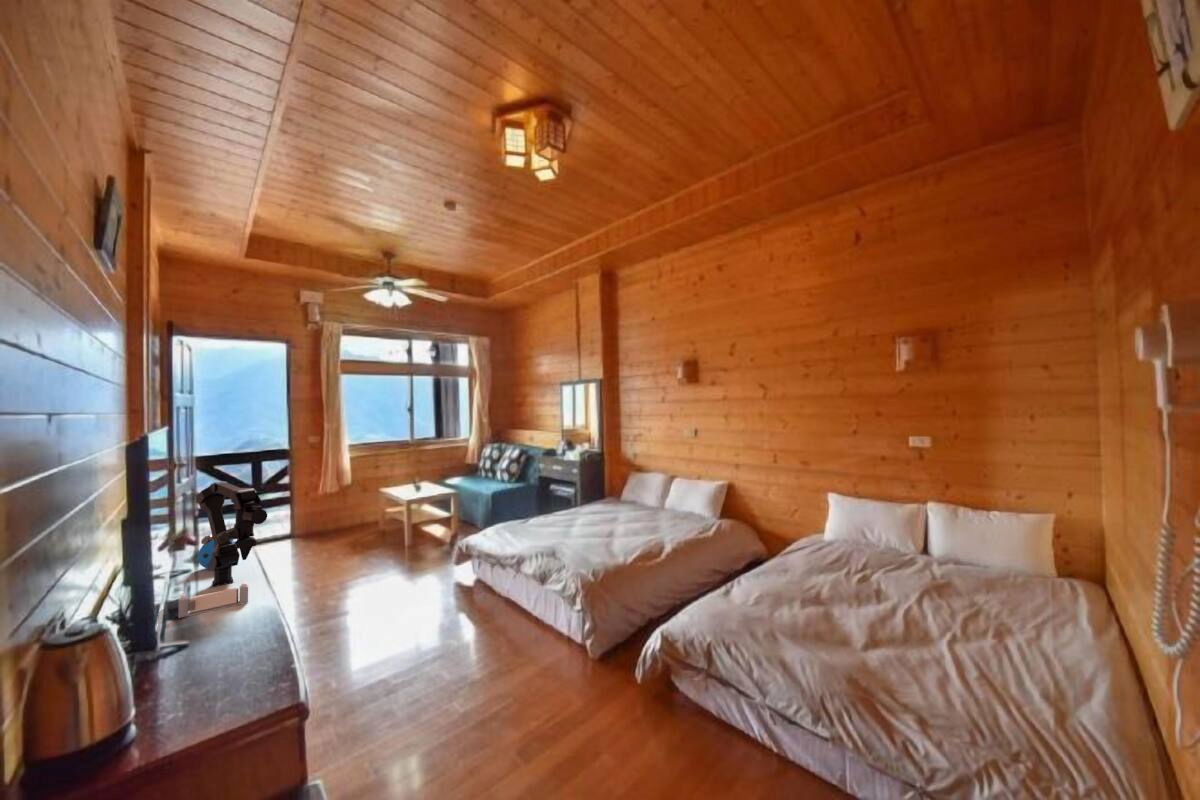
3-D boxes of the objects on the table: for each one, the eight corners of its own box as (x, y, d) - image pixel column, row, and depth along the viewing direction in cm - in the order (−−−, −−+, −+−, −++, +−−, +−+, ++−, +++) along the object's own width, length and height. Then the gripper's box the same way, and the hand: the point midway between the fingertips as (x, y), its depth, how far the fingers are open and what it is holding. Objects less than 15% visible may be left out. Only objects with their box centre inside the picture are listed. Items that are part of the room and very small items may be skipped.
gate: (189, 611, 166) (190, 597, 166) (238, 601, 175) (238, 587, 175) (189, 613, 165) (190, 598, 165) (238, 602, 174) (238, 588, 174)
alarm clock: (236, 563, 215) (237, 530, 215) (235, 567, 210) (235, 534, 210) (199, 568, 208) (200, 534, 208) (197, 572, 203) (197, 538, 203)
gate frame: (178, 615, 165) (178, 595, 165) (247, 600, 177) (247, 581, 177) (178, 618, 162) (178, 598, 162) (248, 603, 175) (248, 584, 175)
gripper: (217, 519, 188) (217, 557, 188) (219, 529, 174) (219, 571, 174) (251, 514, 196) (251, 552, 196) (256, 524, 182) (256, 564, 182)
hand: (244, 559), depth 187 cm, fingers closed
